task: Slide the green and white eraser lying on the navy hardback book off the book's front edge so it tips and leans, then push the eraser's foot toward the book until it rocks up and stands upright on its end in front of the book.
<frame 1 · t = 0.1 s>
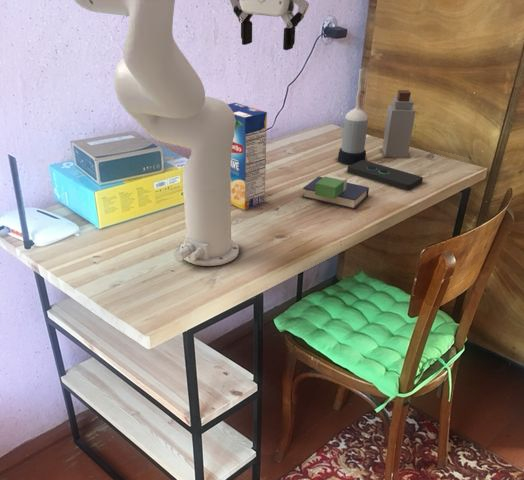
hand: (267, 46, 121), 37 cm above the table, tool pointing down, fingers open, 9 cm apart
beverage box: (240, 200, 149), on the table
perfume bottle: (394, 154, 180), on the table
smart home device: (383, 178, 164), on the table
green and white eraser: (331, 186, 147), point 4 cm above the table, touching book
humidifier: (351, 161, 175), on the table
book: (334, 197, 152), on the table
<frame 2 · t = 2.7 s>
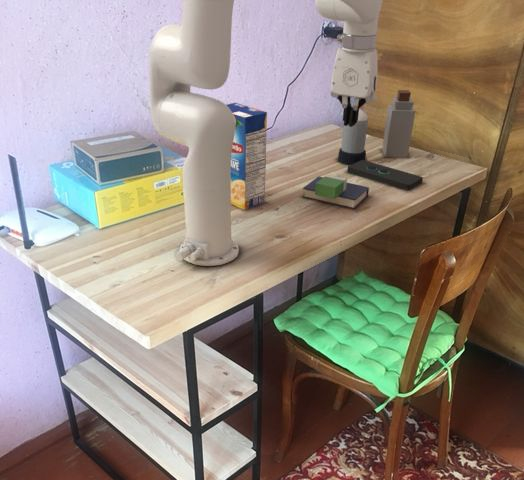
hand: (349, 124, 145), 17 cm above the table, tool pointing down, fingers closed
nothing on the table moved.
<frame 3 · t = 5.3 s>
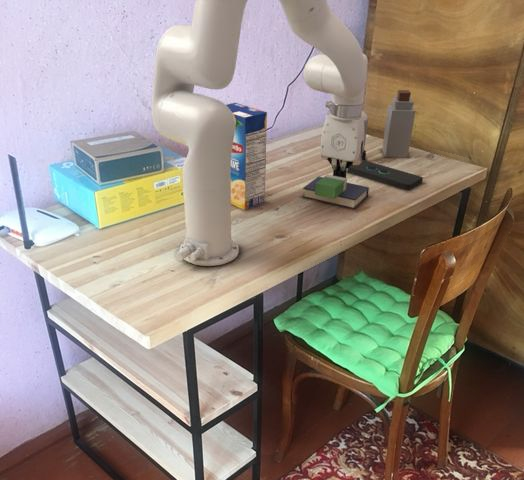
hand: (338, 183, 151), 3 cm above the table, tool pointing down, fingers closed
green and white eraser: (330, 186, 147), point 4 cm above the table, touching gripper
everything else where it was.
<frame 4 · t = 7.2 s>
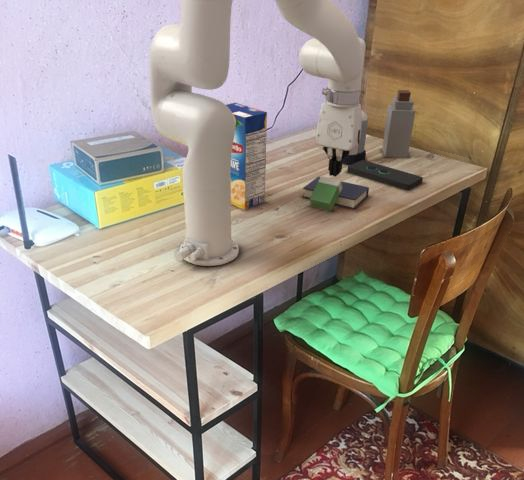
hand: (334, 174, 147), 7 cm above the table, tool pointing down, fingers closed
green and white eraser: (326, 193, 145), point 3 cm above the table, tilted 33°, touching book
everything else where it was.
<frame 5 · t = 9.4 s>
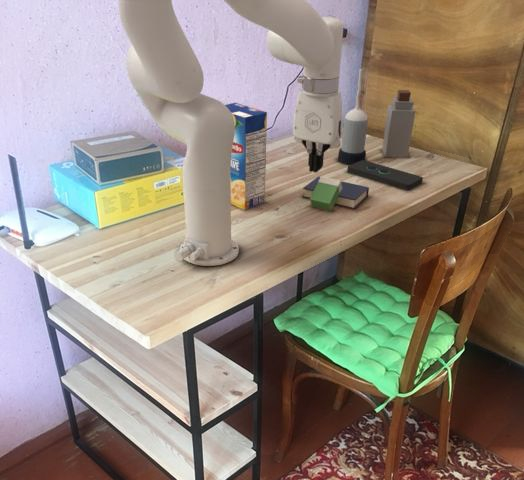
hand: (315, 169, 134), 12 cm above the table, tool pointing down, fingers closed
nothing on the table moved.
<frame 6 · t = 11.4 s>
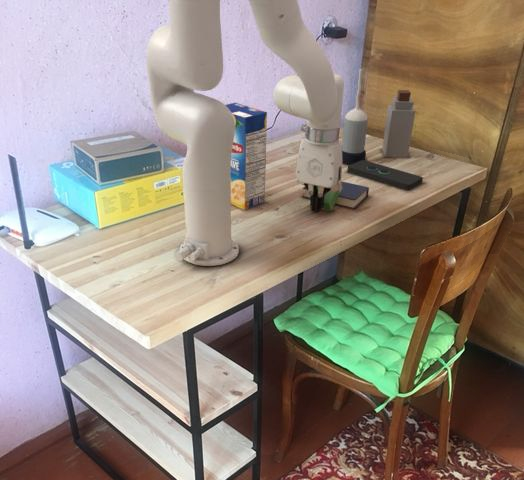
hand: (316, 209, 143), 1 cm above the table, tool pointing down, fingers closed
green and white eraser: (326, 193, 145), point 3 cm above the table, tilted 33°, touching gripper
everything else where it was.
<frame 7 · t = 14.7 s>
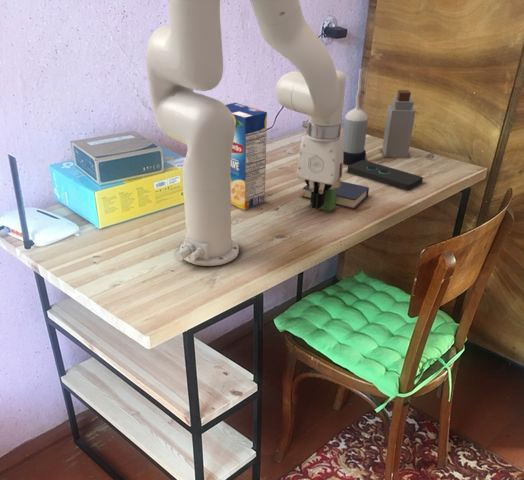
hand: (316, 206, 143), 1 cm above the table, tool pointing down, fingers closed
green and white eraser: (324, 193, 144), point 4 cm above the table, tilted 88°
everything else where it was.
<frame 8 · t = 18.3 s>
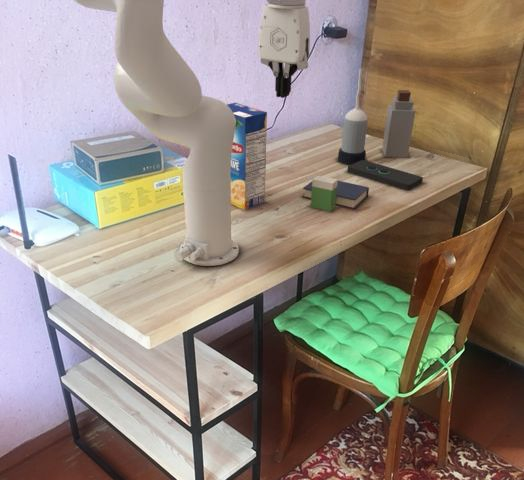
hand: (282, 95, 127), 27 cm above the table, tool pointing down, fingers closed
nothing on the table moved.
at the end: green and white eraser tilted 90°; green and white eraser inside the target area (0.2 cm from its centre), point 3.6 cm above the table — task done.
